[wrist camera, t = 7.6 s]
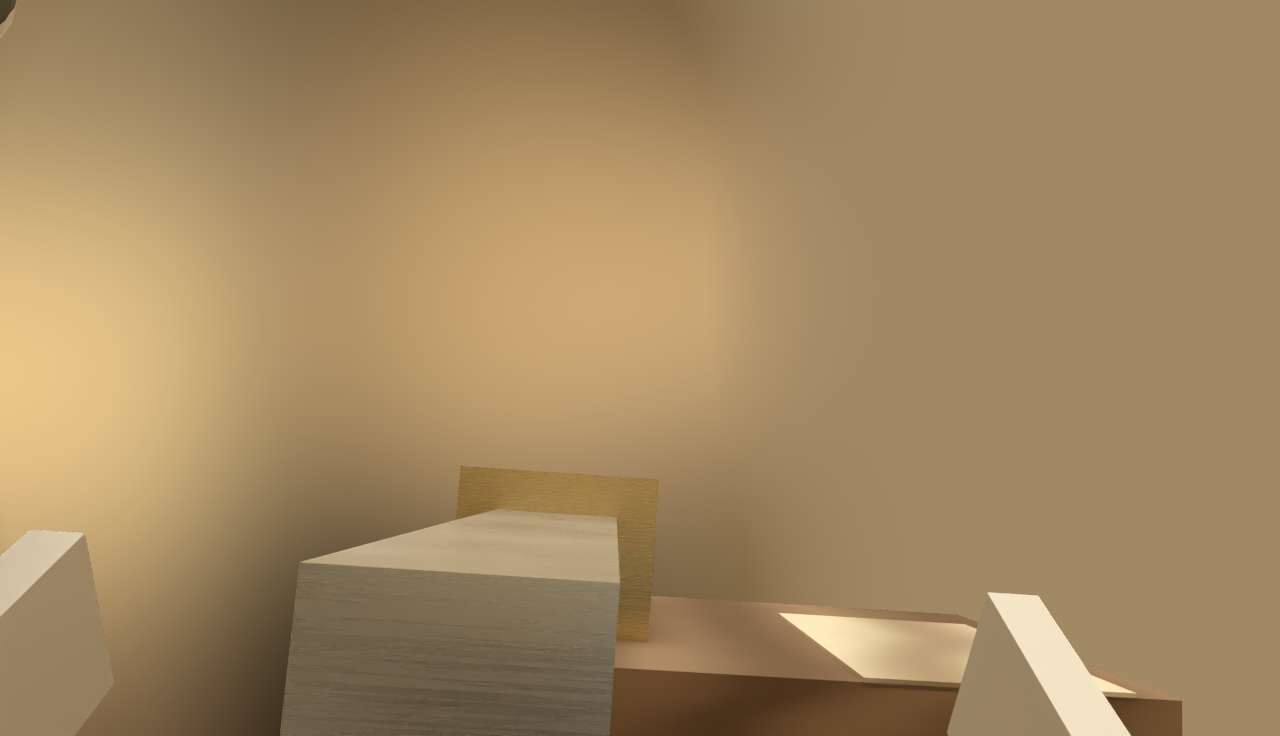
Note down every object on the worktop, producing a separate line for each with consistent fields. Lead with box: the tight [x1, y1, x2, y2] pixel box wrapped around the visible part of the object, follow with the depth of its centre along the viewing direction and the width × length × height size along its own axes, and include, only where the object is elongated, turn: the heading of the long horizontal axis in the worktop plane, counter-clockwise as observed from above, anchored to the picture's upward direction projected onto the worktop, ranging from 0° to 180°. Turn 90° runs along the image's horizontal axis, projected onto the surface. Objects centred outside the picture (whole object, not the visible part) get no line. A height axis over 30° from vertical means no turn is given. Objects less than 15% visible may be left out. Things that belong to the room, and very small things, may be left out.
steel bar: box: [280, 466, 659, 736], centre depth 19 cm, size 5×22×4 cm, turn 2°
